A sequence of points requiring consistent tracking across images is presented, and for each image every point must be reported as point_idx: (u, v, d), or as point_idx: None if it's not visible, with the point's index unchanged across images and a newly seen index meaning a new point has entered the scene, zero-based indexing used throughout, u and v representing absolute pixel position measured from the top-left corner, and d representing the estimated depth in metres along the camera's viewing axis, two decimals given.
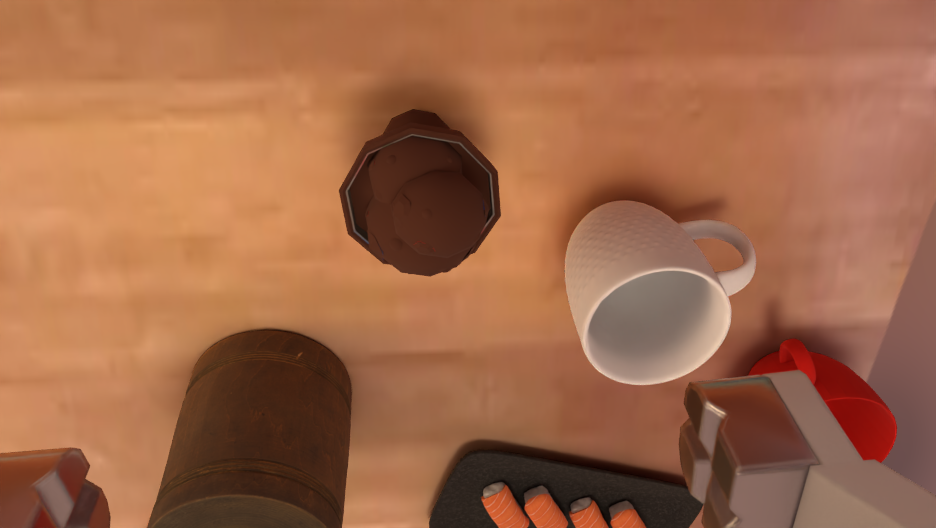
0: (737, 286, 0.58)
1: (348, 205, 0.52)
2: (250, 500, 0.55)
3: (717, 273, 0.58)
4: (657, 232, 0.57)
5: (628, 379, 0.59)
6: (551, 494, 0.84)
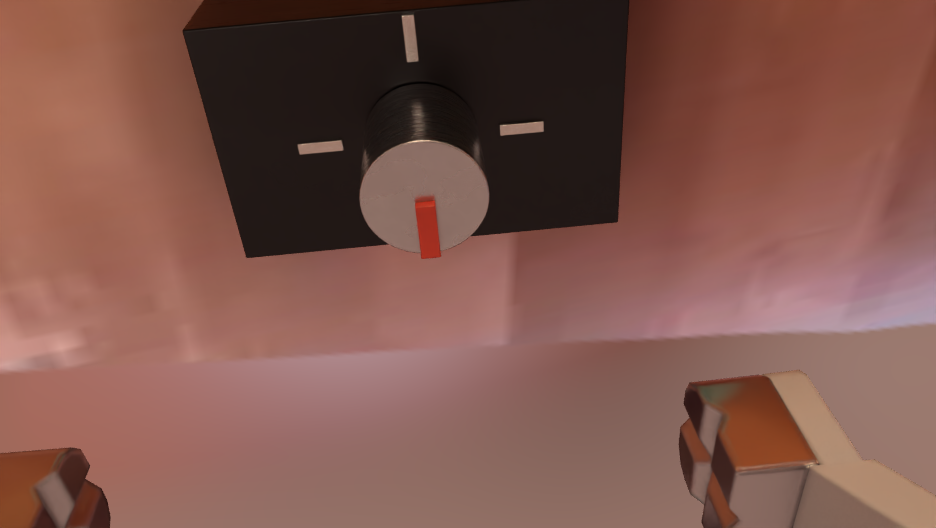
0: None
1: None
2: None
3: None
4: None
5: None
6: None
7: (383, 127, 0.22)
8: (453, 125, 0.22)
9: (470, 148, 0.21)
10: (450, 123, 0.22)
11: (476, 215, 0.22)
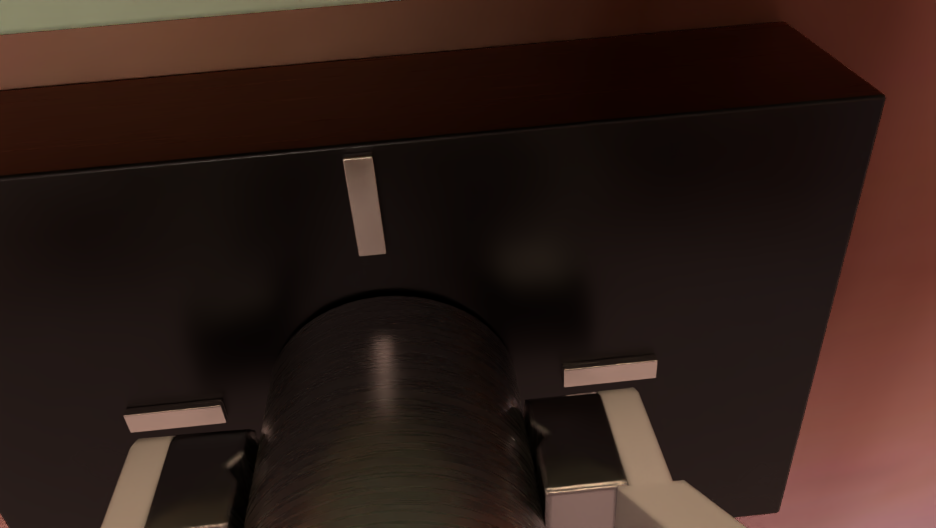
0: None
1: None
2: None
3: None
4: None
5: None
6: None
7: (292, 446, 0.09)
8: (470, 448, 0.09)
9: None
10: (462, 445, 0.09)
11: None
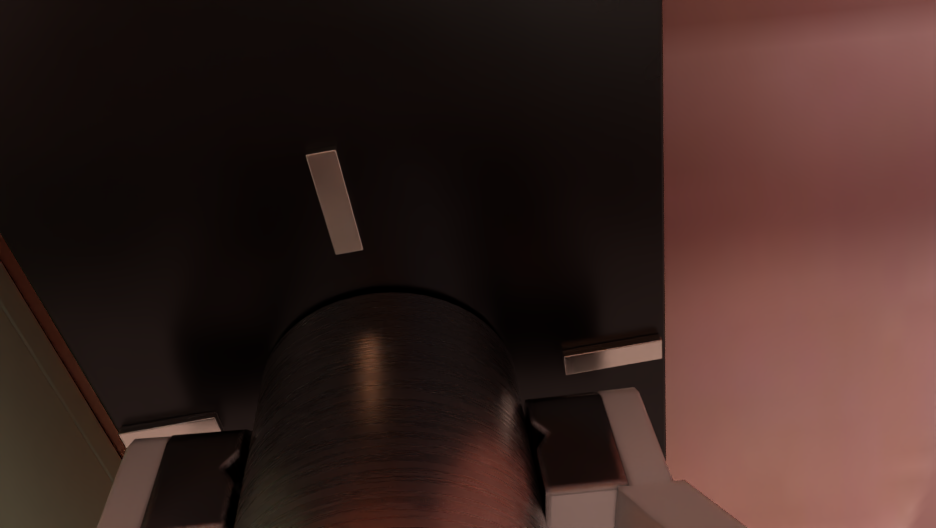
0: None
1: None
2: None
3: None
4: None
5: None
6: None
7: (298, 440, 0.08)
8: (484, 457, 0.08)
9: None
10: (477, 453, 0.08)
11: None
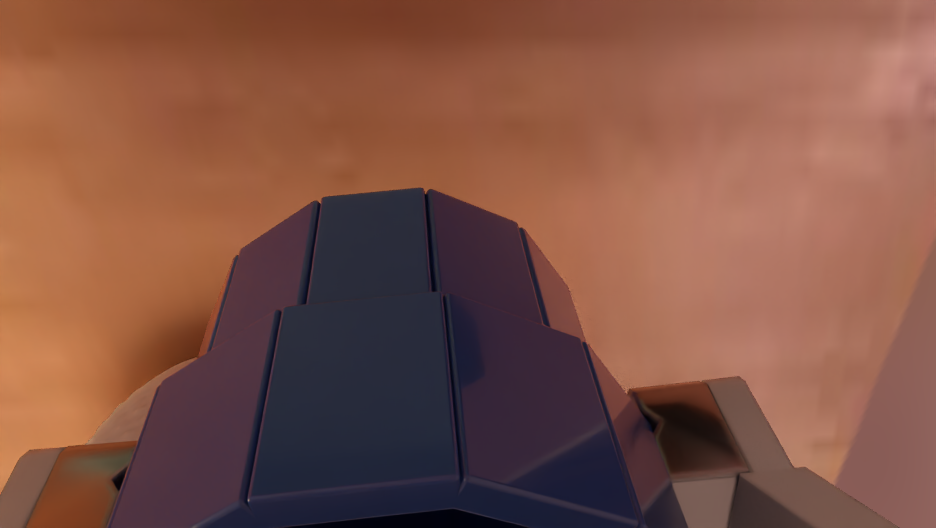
0: None
1: None
2: None
3: None
4: None
5: None
6: None
7: None
8: None
9: None
10: None
11: None
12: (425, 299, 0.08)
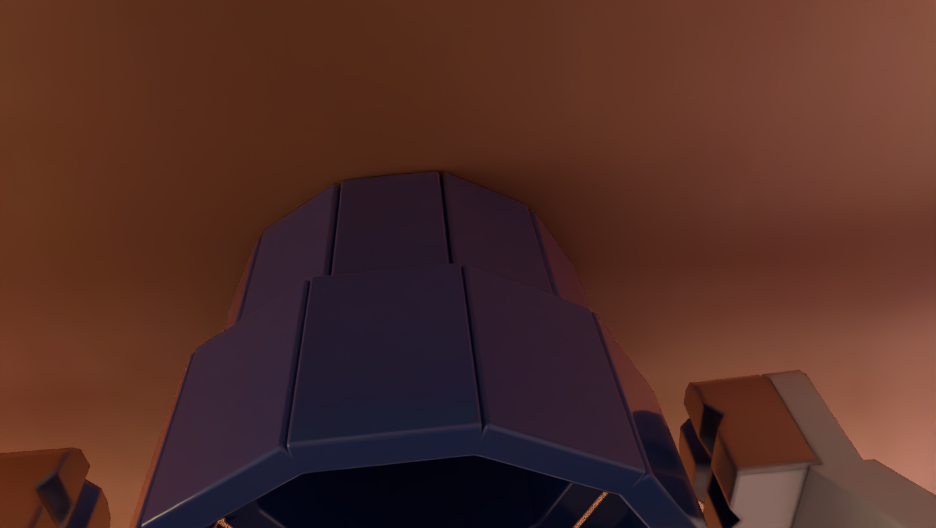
0: None
1: None
2: None
3: None
4: None
5: None
6: None
7: None
8: None
9: None
10: None
11: None
12: (444, 270, 0.09)
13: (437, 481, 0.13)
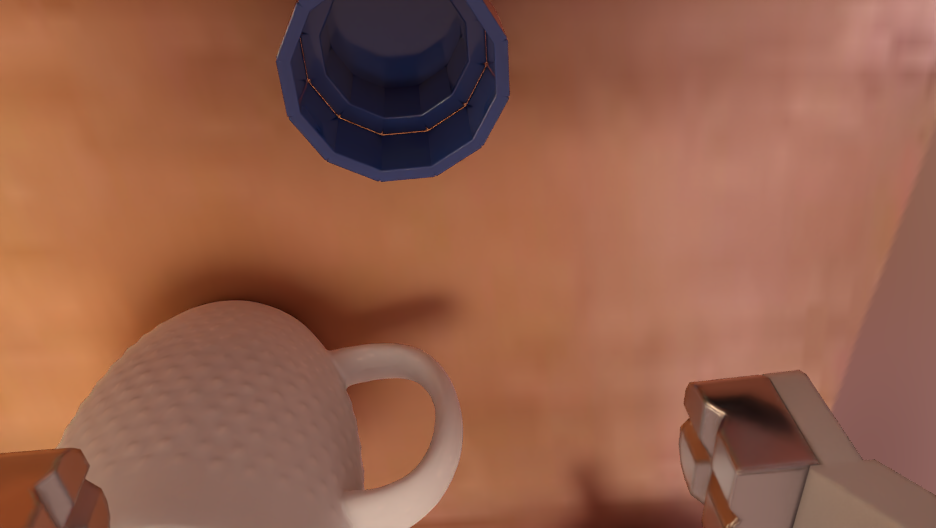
0: (394, 525, 0.25)
1: None
2: None
3: (346, 496, 0.25)
4: (192, 406, 0.24)
5: None
6: None
7: None
8: None
9: None
10: None
11: None
12: None
13: (408, 97, 0.26)
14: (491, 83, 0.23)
